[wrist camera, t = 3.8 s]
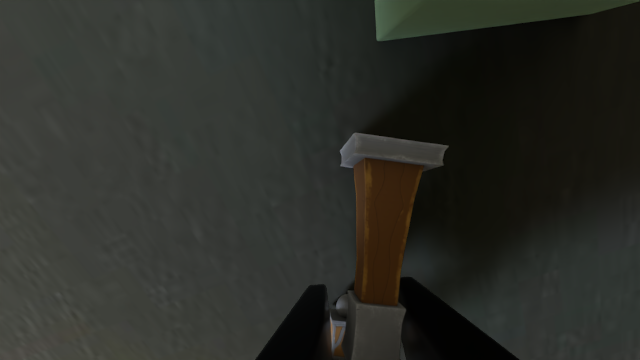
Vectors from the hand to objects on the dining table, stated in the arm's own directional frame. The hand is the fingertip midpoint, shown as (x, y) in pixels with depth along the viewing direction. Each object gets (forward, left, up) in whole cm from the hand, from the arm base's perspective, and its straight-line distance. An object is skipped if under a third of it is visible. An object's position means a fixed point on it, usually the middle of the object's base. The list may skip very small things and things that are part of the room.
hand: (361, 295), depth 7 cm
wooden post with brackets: (0, 0, -1) cm, 1 cm away
